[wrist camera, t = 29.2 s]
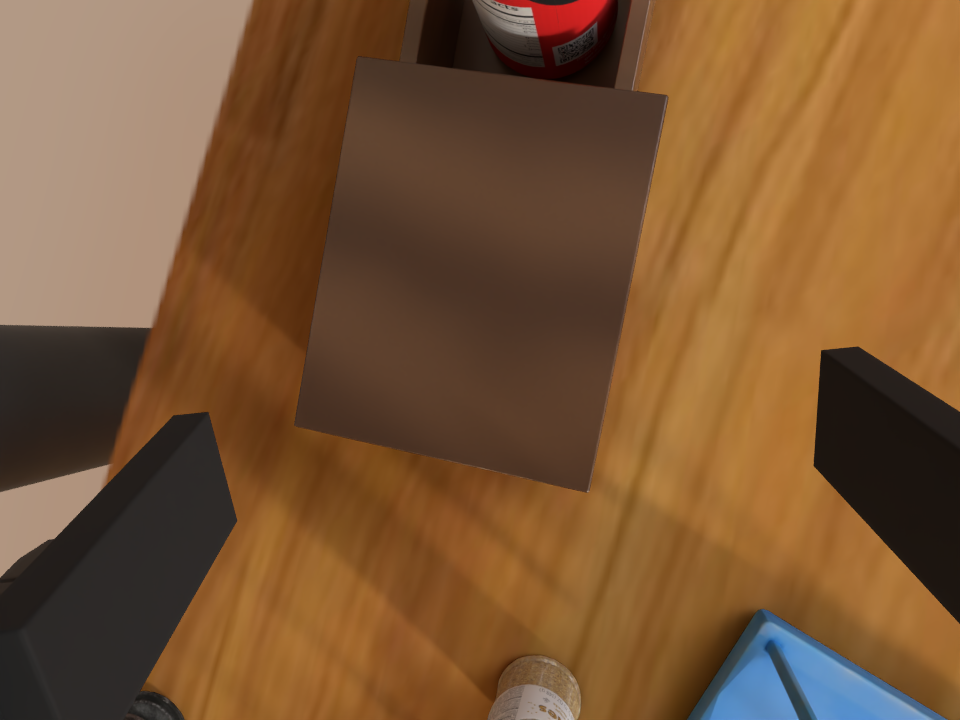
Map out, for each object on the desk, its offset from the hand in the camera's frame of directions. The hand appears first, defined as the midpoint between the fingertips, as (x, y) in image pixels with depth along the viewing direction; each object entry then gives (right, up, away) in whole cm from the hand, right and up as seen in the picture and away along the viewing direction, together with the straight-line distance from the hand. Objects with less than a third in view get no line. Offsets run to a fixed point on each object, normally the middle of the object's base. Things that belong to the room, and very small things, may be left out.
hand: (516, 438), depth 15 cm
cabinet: (0, +6, +22) cm, 23 cm away
